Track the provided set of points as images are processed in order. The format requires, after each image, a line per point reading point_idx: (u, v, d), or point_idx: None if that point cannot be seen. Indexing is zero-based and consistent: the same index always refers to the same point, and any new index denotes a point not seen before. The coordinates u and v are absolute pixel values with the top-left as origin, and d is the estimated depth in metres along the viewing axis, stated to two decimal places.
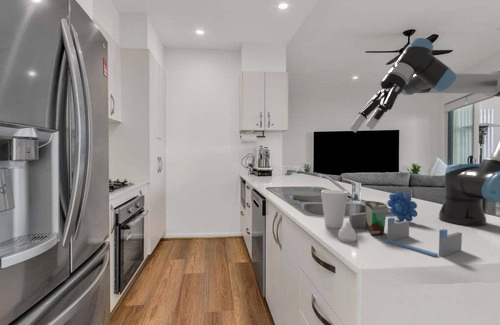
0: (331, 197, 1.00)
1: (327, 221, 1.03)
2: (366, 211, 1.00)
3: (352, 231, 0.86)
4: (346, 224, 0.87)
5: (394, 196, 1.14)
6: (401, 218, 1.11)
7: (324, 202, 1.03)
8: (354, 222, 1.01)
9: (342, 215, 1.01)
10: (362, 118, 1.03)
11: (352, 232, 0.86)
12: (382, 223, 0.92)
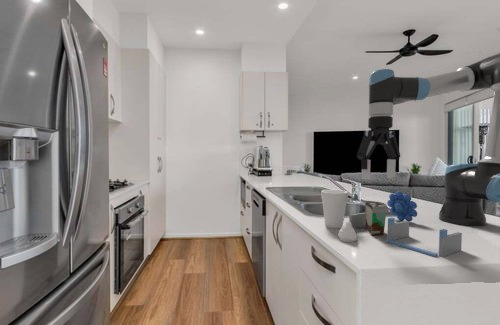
0: (331, 197, 1.00)
1: (327, 221, 1.03)
2: (366, 211, 1.00)
3: (352, 231, 0.86)
4: (346, 224, 0.87)
5: (394, 196, 1.14)
6: (401, 218, 1.11)
7: (324, 202, 1.03)
8: (354, 222, 1.01)
9: (342, 215, 1.01)
10: (391, 162, 0.98)
11: (352, 232, 0.86)
12: (382, 223, 0.92)
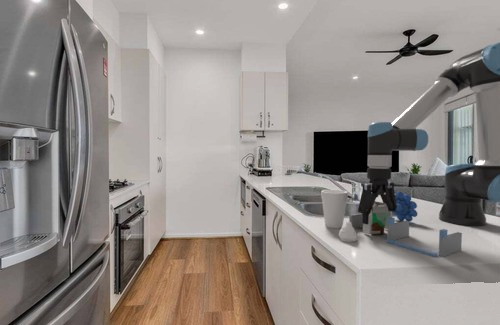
0: (331, 197, 1.00)
1: (327, 221, 1.03)
2: None
3: (353, 231, 0.86)
4: (347, 224, 0.87)
5: None
6: (401, 218, 1.11)
7: (324, 202, 1.03)
8: (354, 222, 1.01)
9: (342, 215, 1.01)
10: (387, 213, 0.98)
11: (353, 232, 0.86)
12: (382, 223, 0.92)
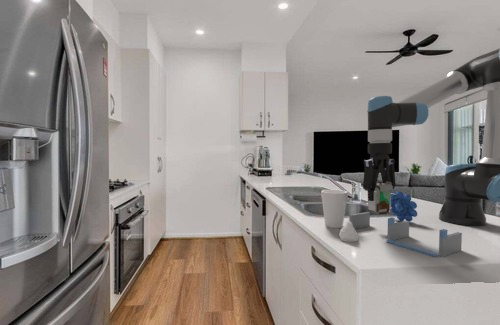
0: (331, 197, 1.00)
1: (327, 221, 1.03)
2: None
3: (353, 231, 0.86)
4: (347, 224, 0.87)
5: (394, 196, 1.14)
6: (401, 218, 1.11)
7: (324, 202, 1.03)
8: (354, 222, 1.01)
9: (342, 215, 1.01)
10: None
11: (353, 232, 0.86)
12: (388, 201, 0.92)
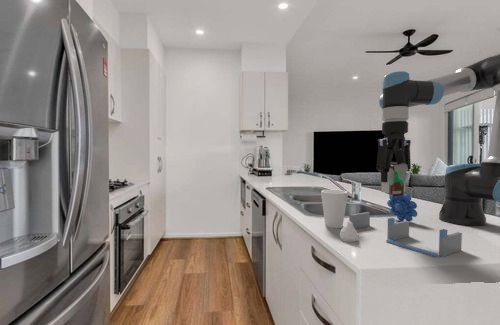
0: (331, 197, 1.00)
1: (327, 221, 1.03)
2: None
3: (354, 231, 0.86)
4: (348, 224, 0.87)
5: (394, 196, 1.14)
6: (401, 218, 1.11)
7: (324, 202, 1.03)
8: (354, 222, 1.01)
9: (342, 215, 1.01)
10: None
11: (354, 232, 0.86)
12: (403, 182, 0.87)
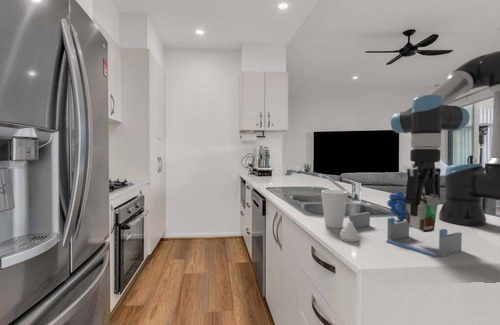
0: (331, 197, 1.00)
1: (327, 221, 1.03)
2: None
3: (354, 231, 0.86)
4: (348, 224, 0.87)
5: (394, 196, 1.14)
6: (401, 218, 1.11)
7: (324, 202, 1.03)
8: (354, 222, 1.01)
9: (342, 215, 1.01)
10: None
11: (354, 232, 0.86)
12: (435, 217, 0.79)
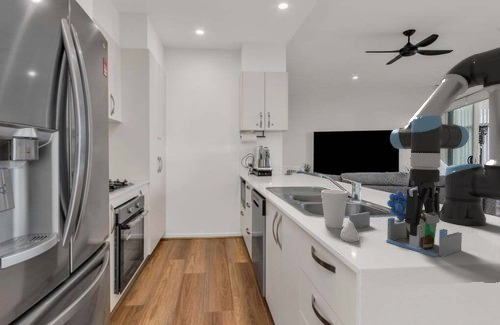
0: (331, 197, 1.00)
1: (327, 221, 1.03)
2: None
3: (354, 231, 0.86)
4: (348, 224, 0.87)
5: (394, 196, 1.14)
6: (401, 218, 1.11)
7: (324, 202, 1.03)
8: (354, 222, 1.01)
9: (342, 215, 1.01)
10: None
11: (354, 232, 0.86)
12: (434, 235, 0.80)
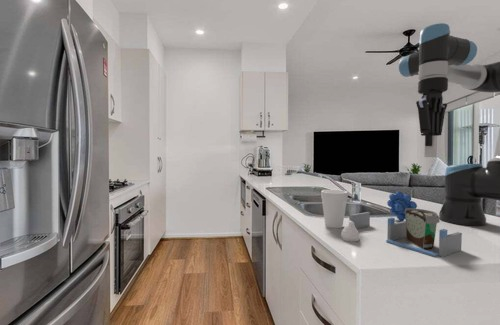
0: (331, 197, 1.00)
1: (327, 221, 1.03)
2: (408, 220, 0.87)
3: (355, 231, 0.86)
4: (349, 224, 0.87)
5: (394, 196, 1.14)
6: (401, 218, 1.11)
7: (324, 202, 1.03)
8: (354, 222, 1.01)
9: (342, 215, 1.01)
10: None
11: (355, 232, 0.86)
12: (434, 235, 0.80)
